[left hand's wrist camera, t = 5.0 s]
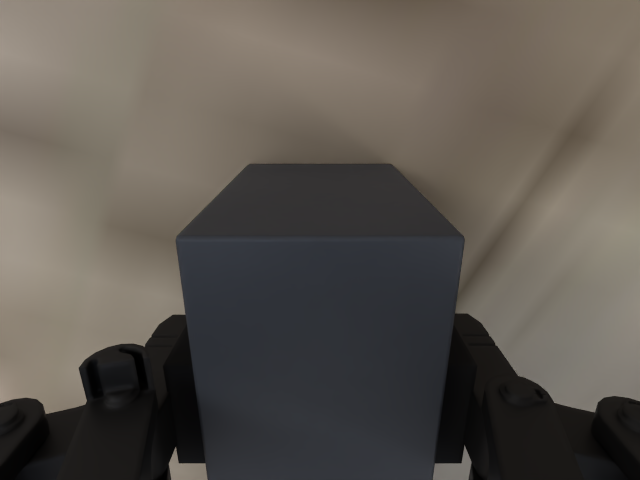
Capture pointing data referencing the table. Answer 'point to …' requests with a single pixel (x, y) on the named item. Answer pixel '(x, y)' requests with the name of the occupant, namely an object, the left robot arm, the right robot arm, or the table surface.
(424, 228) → the beam
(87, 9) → the table surface
